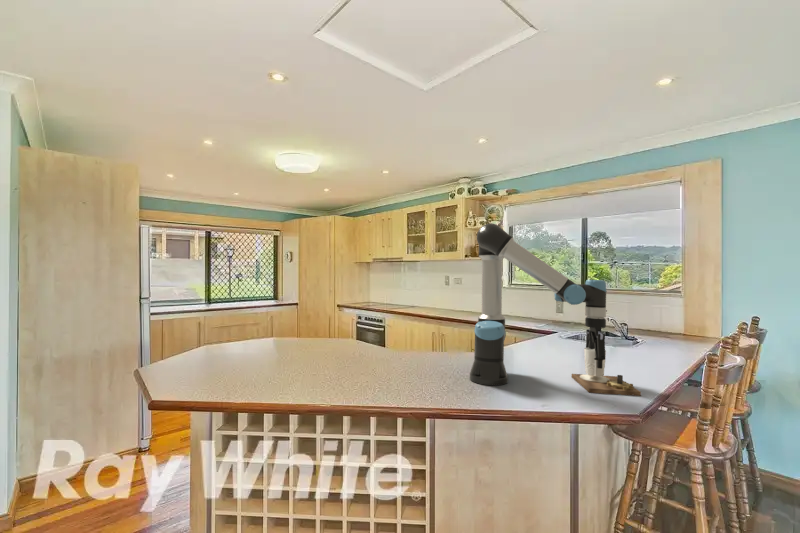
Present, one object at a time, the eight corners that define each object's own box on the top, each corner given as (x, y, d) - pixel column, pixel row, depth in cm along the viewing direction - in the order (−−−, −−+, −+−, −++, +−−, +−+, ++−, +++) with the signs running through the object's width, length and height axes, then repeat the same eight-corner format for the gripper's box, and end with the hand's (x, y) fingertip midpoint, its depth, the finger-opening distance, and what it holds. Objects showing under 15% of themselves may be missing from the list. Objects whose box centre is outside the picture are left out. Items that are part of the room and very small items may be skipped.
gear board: (588, 392, 141) (589, 377, 141) (571, 377, 162) (571, 363, 162) (640, 396, 138) (641, 380, 138) (616, 380, 159) (616, 366, 159)
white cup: (600, 371, 158) (600, 347, 158) (609, 377, 150) (609, 351, 150) (580, 371, 158) (581, 347, 159) (588, 376, 151) (588, 351, 151)
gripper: (615, 320, 144) (615, 381, 143) (595, 315, 164) (595, 367, 164) (595, 320, 145) (594, 379, 145) (577, 314, 165) (577, 366, 165)
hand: (594, 373), depth 154 cm, fingers closed on white cup, 7 cm apart
